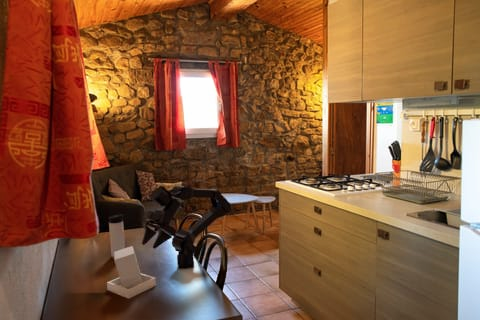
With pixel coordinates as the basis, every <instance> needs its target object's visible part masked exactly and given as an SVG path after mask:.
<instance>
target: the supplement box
mask: <svg viewBox="0 0 480 320" xmlns="http://www.w3.org/2000/svg"><path fill="white" fill-rule="evenodd" d="M113 259H114V264H115V267H116V270H117V273H118V276H119V277H120V280H121V283H122V286H123V287H124V288H129V287H132V286H135V285H138V284H141V283H142V278H141V273H142V272H141V270H140V266H139V263H138V259H137V255H136V252H135V248H134V246H133V245H130V246H127V247H125V248H124V249H121V250H118V251H116V252H114V258H113ZM119 277H118V278H119Z"/></svg>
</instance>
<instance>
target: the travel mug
mask: <svg viewBox="0 0 480 320" xmlns="http://www.w3.org/2000/svg"><path fill="white" fill-rule="evenodd" d="M123 217H124V214H120V213H119V214H115V215H111V216H109V217H108V226H109V227H108V228H109V229H108V230H109V241H110V253H111V259H114V252H116V251H118V250H121V249H124V248H126V245H125V242H126V241H125V232H124V231H125V230H124V229H125V227H124V218H123Z"/></svg>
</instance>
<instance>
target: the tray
mask: <svg viewBox="0 0 480 320" xmlns="http://www.w3.org/2000/svg"><path fill="white" fill-rule="evenodd" d="M141 278H142V283H141V284H138V285H135V286H132V287H129V288H124V287H123V286H122V283H121V280H120V277H117V278H114V279H112V280H109V281H107V282H106V289H107V291H109V292H111V293H114V294H115V295H119V296H121V297H123V298H126V299H131V298H133V297H134V296H137V295H139V294H142V293H143V292H145V291H148V290H149V289H152V288H154V287H156V286H157V282H156V277H154V276H151V275H148V274H144V273H142V272H141Z"/></svg>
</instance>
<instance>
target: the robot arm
mask: <svg viewBox="0 0 480 320" xmlns="http://www.w3.org/2000/svg"><path fill="white" fill-rule="evenodd" d="M149 197H150V198H149V199H151V200H152V201H153V202H155V203H156V204H157V205H159V206H160V207H163V208H162V210H158V209H154V210H153V211H151V210H144V211H145V212H144V215H143V219H144V220H143V222H142V225H143V228H144V234H143V237H142V242H141V245H142V246H145V245H146V244H148V242H150V241H151V239H152V238H153V237H155V235H157V237H156V239H155V241H154V242H153V245H152V249H154V250H155V249H157V248H158V247H160V246H161V245H163V244H164V243H165V242H167V241H168V240H170V239H171V245H172V247H173V248H174V250H175V251H176V252H177V253H178V254H177V256H176V259H177V260H176V261H177V267H178V269H192V268H195V260H194V254H196V253H197V250H198V248H197V246H196V245H194V244H195V241H196V239H197V237H199V235H201V234H202V233H203V232H204V231H205V230H206V229H208V227H209V226H211V224H213V223H214V222H215V221H217V219H219V218H223V217H225V216H226V215H228V214H229V213H230V212H231V211H232V205H231V202H229V201H228V199H227V198H226V197H225V196H224V195H223V194H222V193H221V191H220V190H218V189H216V188H215V189H214V188H210V189H209V188H192V187H189V186H184V185H179V184H177V185H174V186H173V187H172V188H171V189H167V188H166V187H165V186H163V185H159V186H158V187H157V188H155V189H153V190H152V191H151V194H150V196H149ZM195 198H196V199H197V198H198V199H199V198H200V199H201V198H203V199H204V198H205V199H209V202H210V204H211V206H210V209H209V211H208V212H206V213H205V215H204V216H202V217H200V219H199V220H197V221H196V222H195V223H194V224H193V225H192V226H191V227H189V228H188V229H187V230H185V229H182V228H181V229H180V230H179V231H177V228H175V227H174V226H173V225H171V223H172V221H173V222H175V220H176V218H175V216H176V215H177V213H178V211H179V210H180V209H183V210H185V209H186V208H185V204H184V203H185V202H183V201H187V200H192V199H195ZM180 200H182V201H180ZM157 232H158V234H157Z"/></svg>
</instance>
